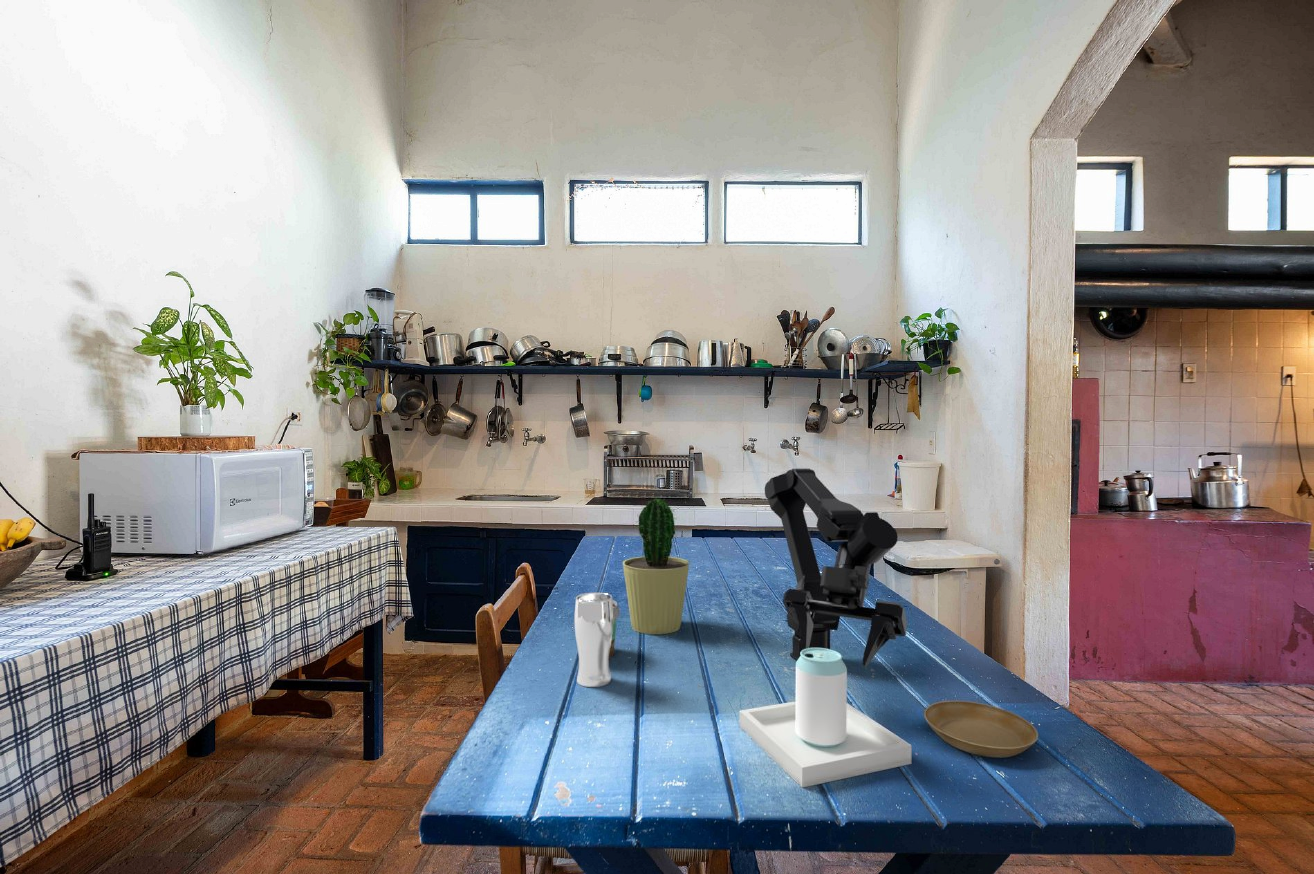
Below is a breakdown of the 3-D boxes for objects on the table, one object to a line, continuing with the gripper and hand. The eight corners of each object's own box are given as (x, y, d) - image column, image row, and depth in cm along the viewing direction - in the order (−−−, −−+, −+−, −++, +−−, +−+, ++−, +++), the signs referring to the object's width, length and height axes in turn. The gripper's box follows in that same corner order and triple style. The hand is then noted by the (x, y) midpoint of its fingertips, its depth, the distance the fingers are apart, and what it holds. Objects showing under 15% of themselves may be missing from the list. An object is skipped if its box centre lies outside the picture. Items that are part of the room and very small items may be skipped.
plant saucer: (1026, 779, 80) (1027, 759, 80) (909, 742, 89) (909, 724, 89) (1046, 737, 91) (1046, 719, 91) (940, 708, 101) (940, 692, 101)
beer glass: (620, 676, 112) (620, 594, 112) (600, 691, 106) (601, 604, 106) (587, 670, 115) (587, 590, 115) (566, 684, 109) (566, 599, 109)
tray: (834, 710, 99) (834, 694, 99) (911, 763, 83) (911, 745, 83) (739, 727, 93) (739, 710, 93) (802, 787, 77) (802, 767, 77)
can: (818, 754, 84) (818, 665, 84) (785, 732, 90) (785, 649, 90) (857, 743, 87) (857, 657, 87) (822, 722, 93) (823, 642, 93)
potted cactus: (655, 612, 153) (655, 491, 153) (703, 626, 142) (703, 496, 142) (608, 626, 142) (608, 496, 142) (656, 642, 131) (656, 501, 131)
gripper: (786, 540, 104) (762, 623, 95) (903, 551, 95) (890, 644, 85) (800, 578, 111) (779, 658, 102) (912, 591, 101) (900, 681, 92)
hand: (833, 660), depth 95 cm, fingers open, 9 cm apart
